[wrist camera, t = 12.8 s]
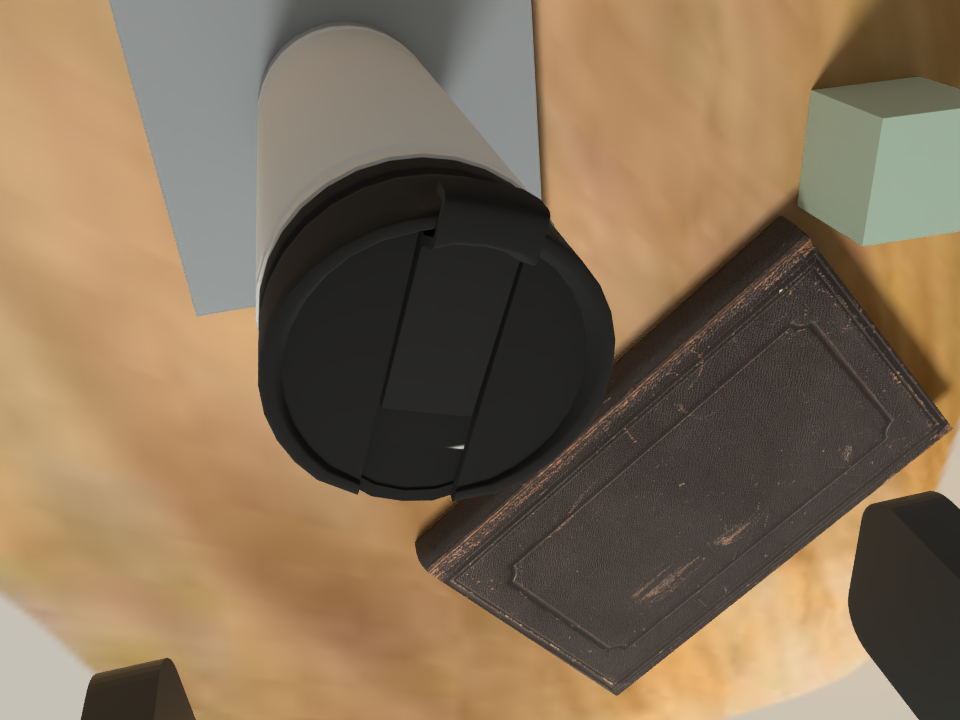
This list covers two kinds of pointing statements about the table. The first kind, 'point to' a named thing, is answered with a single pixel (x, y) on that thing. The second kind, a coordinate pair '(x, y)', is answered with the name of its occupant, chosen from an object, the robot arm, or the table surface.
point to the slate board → (234, 104)
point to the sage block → (883, 159)
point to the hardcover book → (695, 467)
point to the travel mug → (410, 284)
